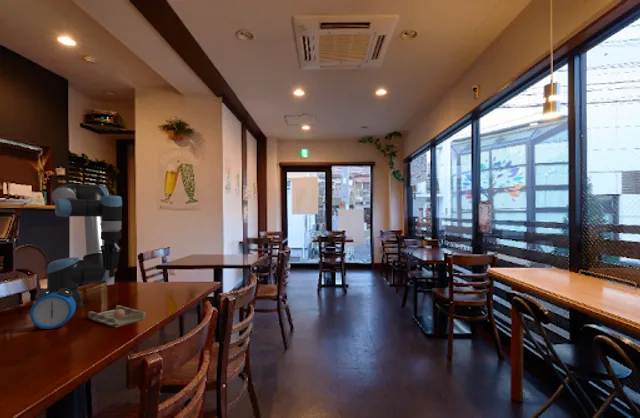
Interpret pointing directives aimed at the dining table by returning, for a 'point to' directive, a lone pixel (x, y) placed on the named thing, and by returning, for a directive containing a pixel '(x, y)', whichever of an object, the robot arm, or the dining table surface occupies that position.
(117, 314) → the ball
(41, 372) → the dining table surface
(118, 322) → the lane
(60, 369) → the dining table surface
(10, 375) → the dining table surface
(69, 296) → the alarm clock
